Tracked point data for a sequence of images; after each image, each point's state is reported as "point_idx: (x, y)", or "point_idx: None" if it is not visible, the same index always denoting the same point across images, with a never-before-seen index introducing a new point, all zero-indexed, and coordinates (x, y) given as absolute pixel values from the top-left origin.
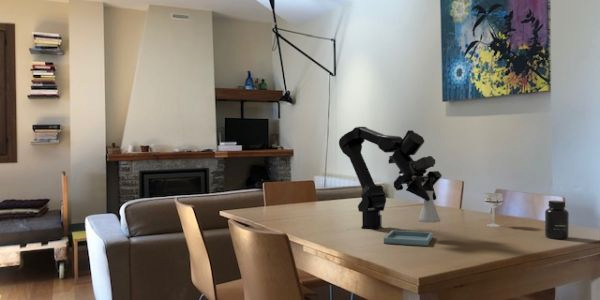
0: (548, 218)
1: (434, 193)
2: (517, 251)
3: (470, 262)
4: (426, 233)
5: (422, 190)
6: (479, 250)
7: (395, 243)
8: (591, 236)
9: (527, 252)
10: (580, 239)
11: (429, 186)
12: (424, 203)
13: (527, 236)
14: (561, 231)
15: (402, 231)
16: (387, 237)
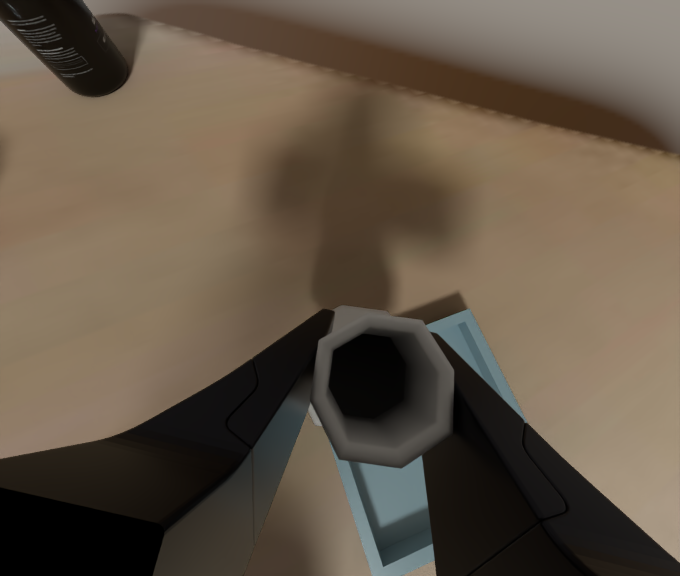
0: (60, 11)
1: (306, 332)
2: (345, 102)
3: (540, 145)
4: None
5: (528, 431)
6: (398, 172)
7: None
8: None
9: (341, 85)
10: None
11: (262, 443)
12: (404, 396)
13: (114, 134)
14: (107, 35)
15: (365, 513)
16: None
